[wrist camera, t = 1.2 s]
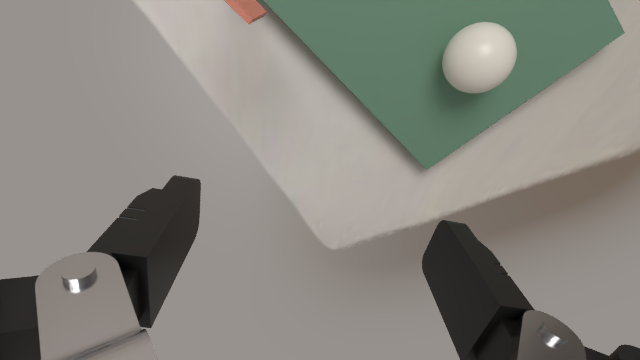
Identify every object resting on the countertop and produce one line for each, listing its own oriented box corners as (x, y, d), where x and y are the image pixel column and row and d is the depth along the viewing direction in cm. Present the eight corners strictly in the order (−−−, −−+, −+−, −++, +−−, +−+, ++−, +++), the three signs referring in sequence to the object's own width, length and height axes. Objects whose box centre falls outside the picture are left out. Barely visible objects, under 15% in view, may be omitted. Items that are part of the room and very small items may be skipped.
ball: (479, 2, 24) (505, 9, 20) (513, 51, 26) (544, 67, 22) (423, 51, 26) (437, 67, 22) (458, 94, 28) (476, 116, 24)
